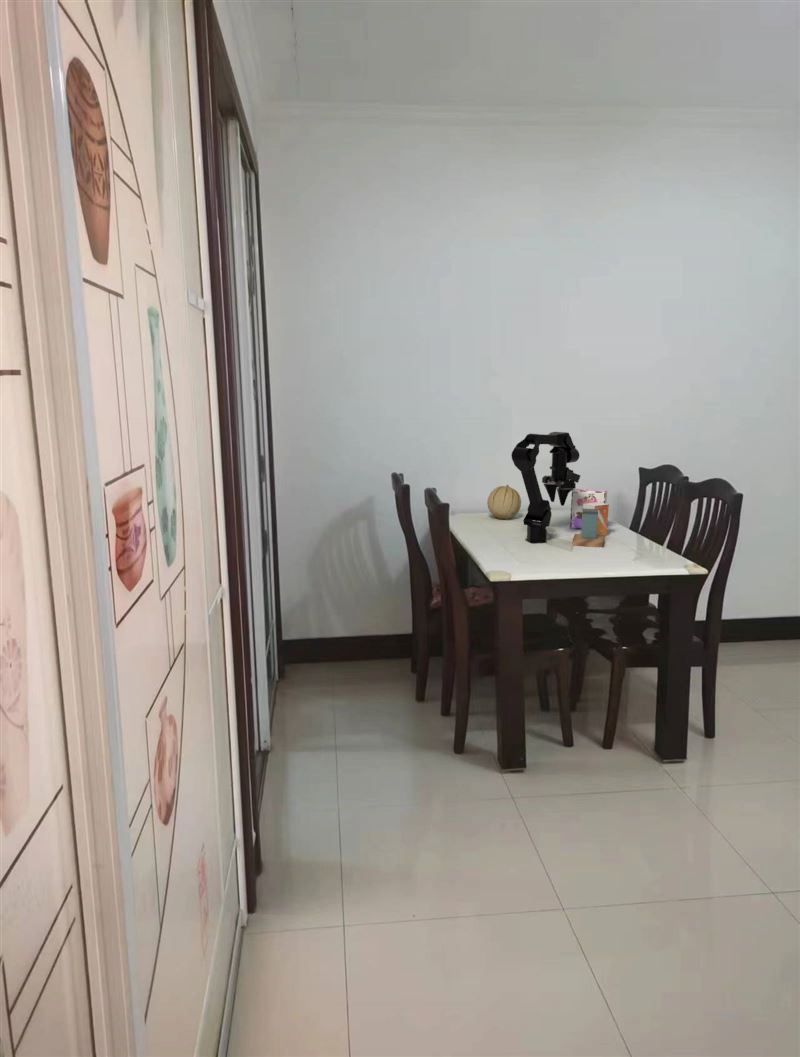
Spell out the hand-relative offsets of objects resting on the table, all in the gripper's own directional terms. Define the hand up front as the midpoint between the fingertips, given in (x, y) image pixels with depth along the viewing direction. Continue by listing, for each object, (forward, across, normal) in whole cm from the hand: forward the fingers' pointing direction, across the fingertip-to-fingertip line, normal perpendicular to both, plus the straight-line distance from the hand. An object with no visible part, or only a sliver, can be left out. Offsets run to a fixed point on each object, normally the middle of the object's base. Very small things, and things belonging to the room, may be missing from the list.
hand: (557, 503), depth 313 cm
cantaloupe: (+13, +40, +7) cm, 43 cm away
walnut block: (+14, -16, -6) cm, 22 cm away
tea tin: (+10, -16, -6) cm, 20 cm away
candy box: (+13, +11, -19) cm, 26 cm away
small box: (+13, -3, -15) cm, 20 cm away
